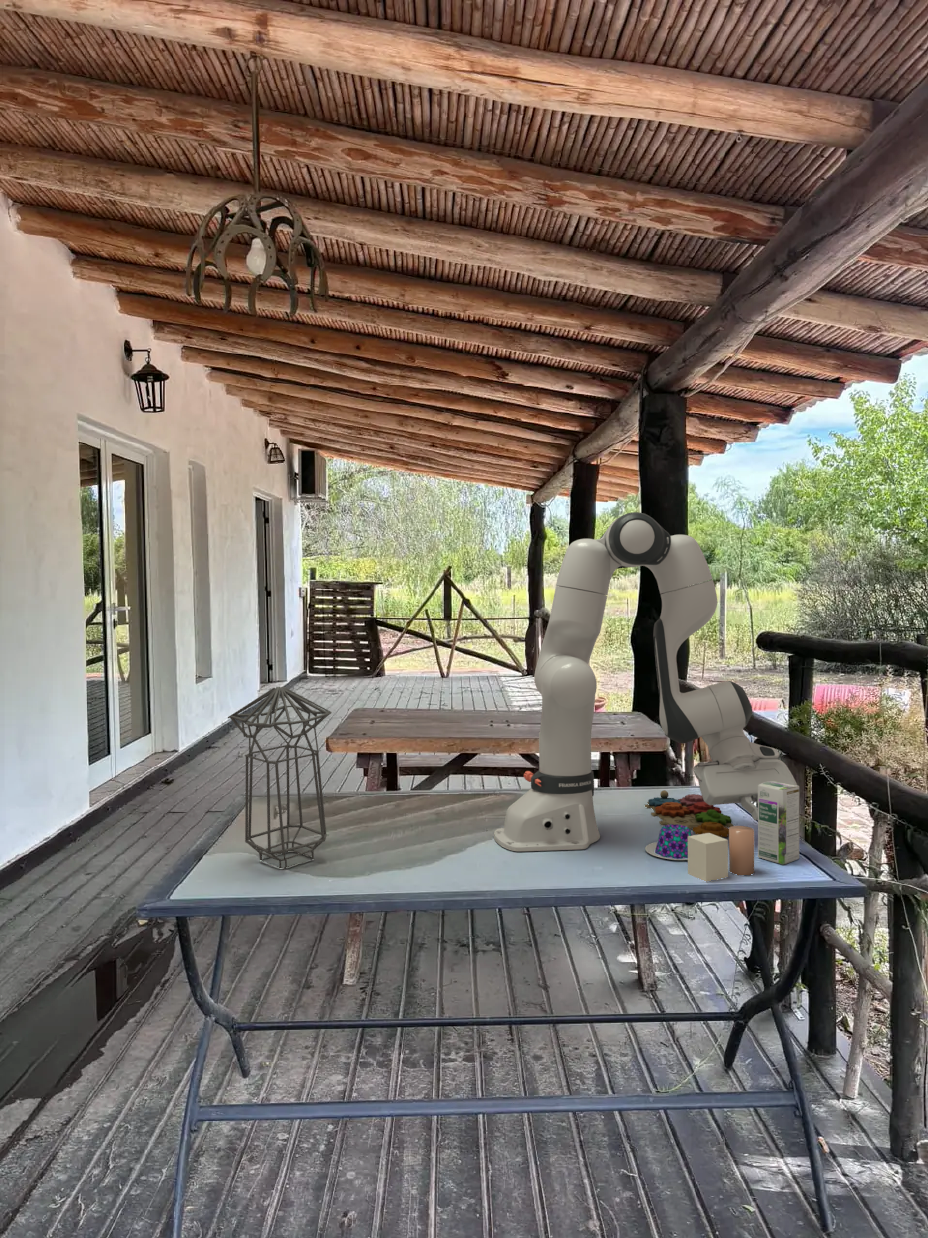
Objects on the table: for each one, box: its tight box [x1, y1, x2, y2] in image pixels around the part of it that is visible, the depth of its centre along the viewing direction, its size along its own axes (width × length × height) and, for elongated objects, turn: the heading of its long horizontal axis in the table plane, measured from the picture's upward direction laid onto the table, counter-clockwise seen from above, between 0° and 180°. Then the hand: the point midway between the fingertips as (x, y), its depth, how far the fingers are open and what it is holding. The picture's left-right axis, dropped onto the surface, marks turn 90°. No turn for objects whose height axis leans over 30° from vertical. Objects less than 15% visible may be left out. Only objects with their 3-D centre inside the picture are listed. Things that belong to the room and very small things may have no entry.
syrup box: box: [757, 781, 800, 866], centre depth 160 cm, size 6×6×14 cm
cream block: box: [687, 833, 729, 883], centre depth 151 cm, size 5×5×7 cm
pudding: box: [644, 824, 693, 861], centre depth 165 cm, size 12×12×5 cm
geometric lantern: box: [227, 686, 332, 868], centre depth 163 cm, size 16×16×35 cm
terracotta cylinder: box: [728, 825, 755, 876], centre depth 153 cm, size 4×4×8 cm
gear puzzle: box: [644, 790, 735, 838], centre depth 188 cm, size 31×16×4 cm, turn 1°
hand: (762, 818), depth 165 cm, fingers closed
